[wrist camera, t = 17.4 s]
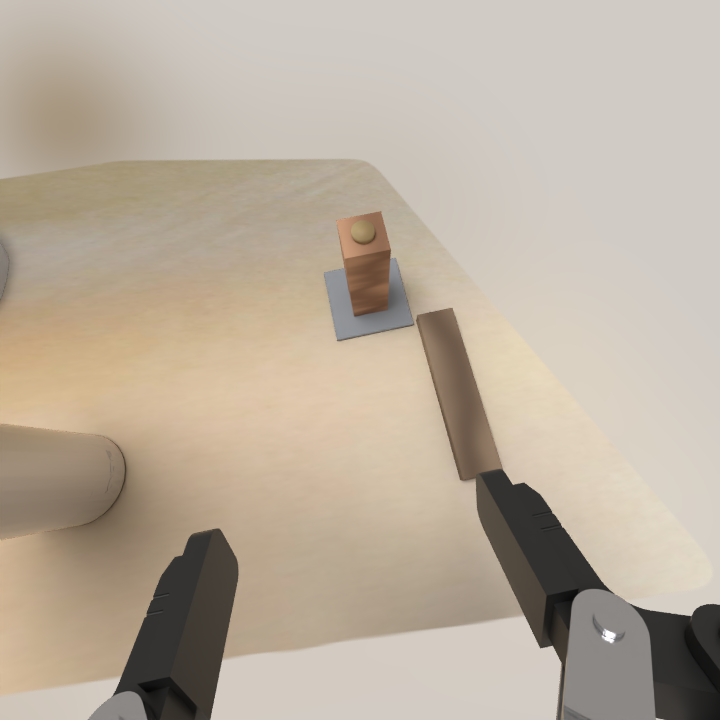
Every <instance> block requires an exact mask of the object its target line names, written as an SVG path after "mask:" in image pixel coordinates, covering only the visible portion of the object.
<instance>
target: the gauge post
mask: <svg viewBox="0 0 720 720" xmlns="http://www.w3.org/2000/svg"><path fill="white" fill-rule="evenodd" d="M337 226H338V232H339V238H340V244H341V250H342V256H343V261H344V267H345V273H346V279H347V285H348V290H349V295H350V300H351V305H352V309H353V314H354V317H355V316H360V315H365V314H370V313H375V312H380V311H385V310H388V291H389V272H390V254H391V249H390V245H389V241H388V237H387V233H386V229H385V225H384V222H383V218H382V214H381V211H380V212H375V213H370V214H365V215H360V216H355V217H350V218H345V219H340V220H337Z"/></svg>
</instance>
